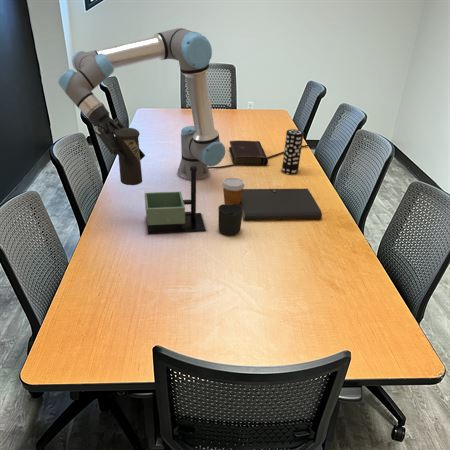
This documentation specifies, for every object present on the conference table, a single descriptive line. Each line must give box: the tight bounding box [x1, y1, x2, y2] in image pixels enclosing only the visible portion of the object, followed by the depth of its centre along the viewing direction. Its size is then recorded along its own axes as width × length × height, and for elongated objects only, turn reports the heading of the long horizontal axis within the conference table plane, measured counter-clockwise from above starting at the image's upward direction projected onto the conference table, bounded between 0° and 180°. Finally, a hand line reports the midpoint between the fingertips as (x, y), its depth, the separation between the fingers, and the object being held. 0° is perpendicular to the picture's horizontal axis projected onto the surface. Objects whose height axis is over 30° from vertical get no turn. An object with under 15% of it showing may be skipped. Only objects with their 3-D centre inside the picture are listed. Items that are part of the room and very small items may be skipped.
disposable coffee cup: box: [221, 177, 245, 205], centre depth 196 cm, size 10×10×12 cm
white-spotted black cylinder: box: [281, 128, 305, 176], centre depth 229 cm, size 8×8×20 cm
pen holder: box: [218, 203, 243, 237], centre depth 180 cm, size 9×9×10 cm
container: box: [113, 127, 143, 186], centre depth 173 cm, size 9×9×20 cm
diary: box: [228, 140, 269, 167], centre depth 247 cm, size 19×25×5 cm
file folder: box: [240, 188, 323, 221], centre depth 200 cm, size 33×4×24 cm
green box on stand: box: [144, 165, 207, 235], centre depth 178 cm, size 23×15×24 cm, turn 101°
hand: (137, 161), depth 173 cm, fingers closed on container, 8 cm apart
